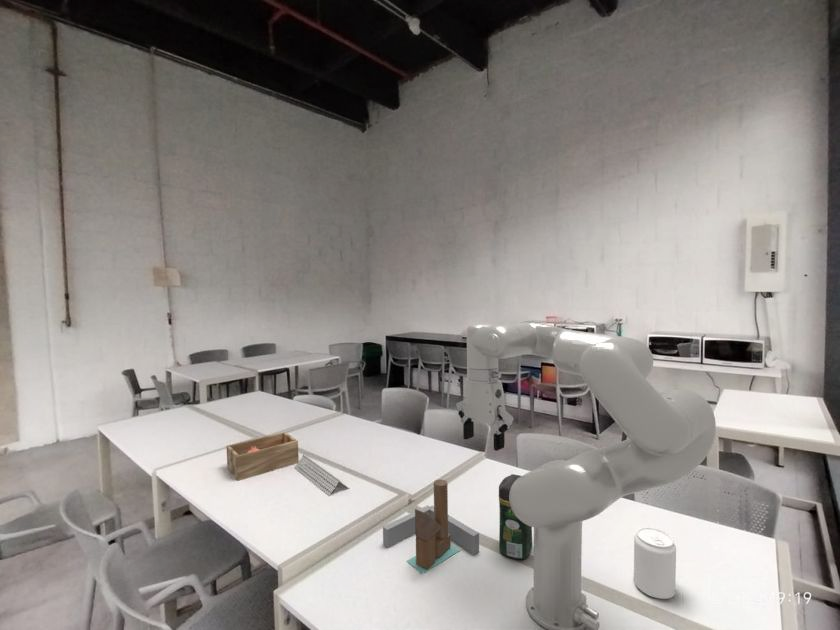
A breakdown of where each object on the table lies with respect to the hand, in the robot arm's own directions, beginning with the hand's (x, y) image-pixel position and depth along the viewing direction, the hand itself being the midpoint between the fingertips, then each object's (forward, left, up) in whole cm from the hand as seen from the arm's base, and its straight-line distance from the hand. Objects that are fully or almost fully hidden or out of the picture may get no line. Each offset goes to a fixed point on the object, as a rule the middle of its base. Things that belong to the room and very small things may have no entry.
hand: (483, 443), depth 98 cm
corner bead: (+70, +10, -31) cm, 77 cm away
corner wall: (+13, +6, -30) cm, 34 cm away
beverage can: (-31, -22, -31) cm, 49 cm away
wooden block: (+10, +8, -30) cm, 33 cm away
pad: (+10, +8, -30) cm, 33 cm away
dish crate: (+95, +22, -30) cm, 102 cm away
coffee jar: (-2, -10, -31) cm, 32 cm away
